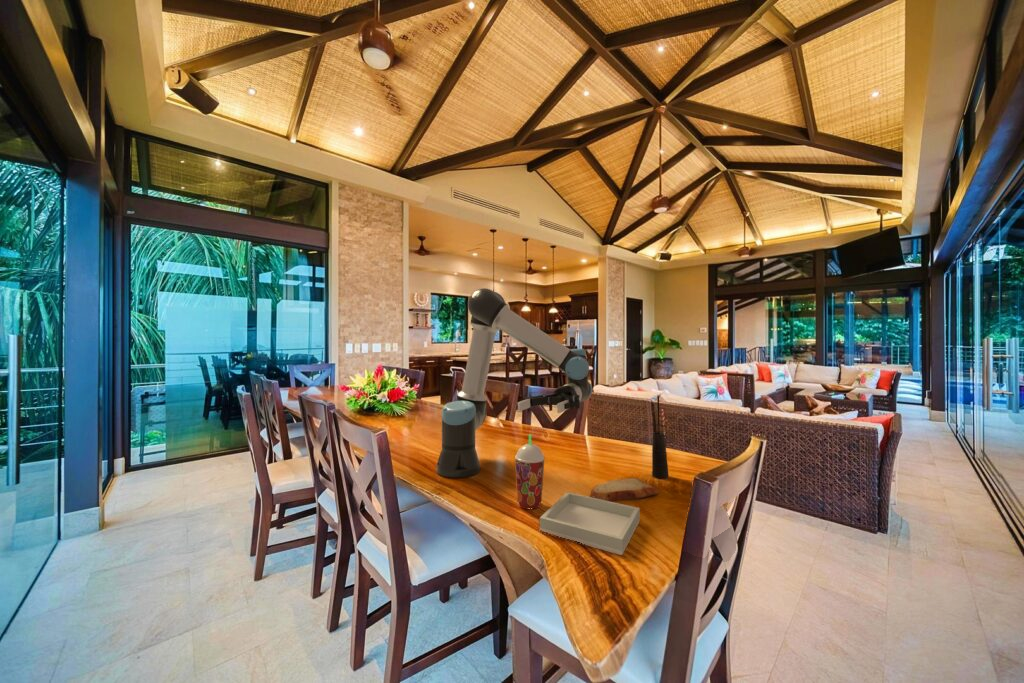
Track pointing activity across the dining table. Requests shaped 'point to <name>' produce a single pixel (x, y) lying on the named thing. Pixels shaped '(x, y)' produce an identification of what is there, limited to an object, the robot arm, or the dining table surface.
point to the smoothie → (529, 475)
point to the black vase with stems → (659, 453)
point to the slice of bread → (623, 490)
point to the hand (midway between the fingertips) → (537, 407)
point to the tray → (592, 522)
